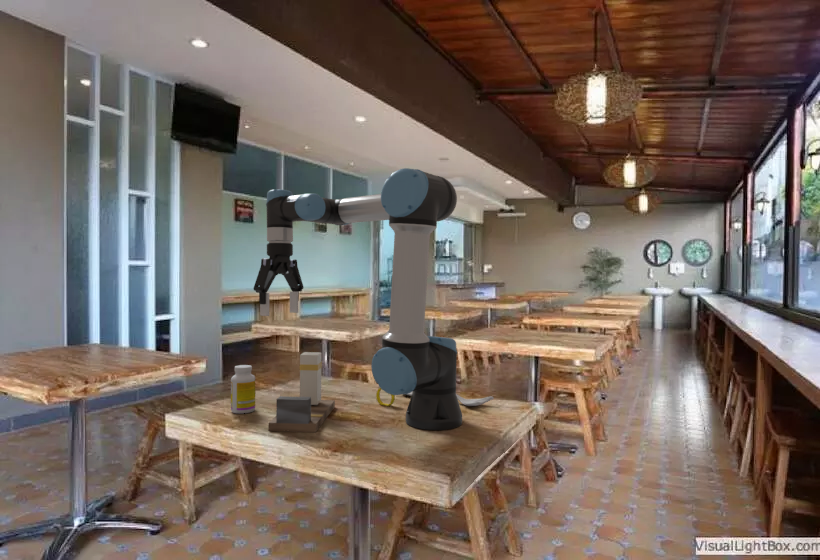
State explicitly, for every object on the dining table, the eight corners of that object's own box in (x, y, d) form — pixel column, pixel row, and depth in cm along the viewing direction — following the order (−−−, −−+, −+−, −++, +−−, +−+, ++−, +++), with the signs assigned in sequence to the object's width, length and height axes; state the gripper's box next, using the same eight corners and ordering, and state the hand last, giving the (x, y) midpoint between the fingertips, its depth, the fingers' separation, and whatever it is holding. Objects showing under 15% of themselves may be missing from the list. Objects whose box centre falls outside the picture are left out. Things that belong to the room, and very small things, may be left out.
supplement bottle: (260, 410, 149) (260, 365, 149) (241, 415, 144) (241, 369, 143) (244, 407, 153) (244, 363, 152) (225, 412, 147) (225, 366, 147)
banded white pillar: (303, 399, 152) (304, 352, 151) (321, 400, 151) (321, 352, 151) (299, 404, 146) (299, 354, 146) (317, 404, 146) (317, 355, 146)
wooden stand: (294, 406, 154) (294, 379, 154) (334, 407, 154) (334, 380, 154) (268, 430, 130) (268, 399, 130) (315, 432, 130) (316, 400, 130)
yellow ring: (395, 406, 156) (397, 387, 156) (390, 408, 154) (391, 388, 154) (379, 402, 160) (380, 383, 159) (374, 404, 157) (375, 384, 157)
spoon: (479, 413, 150) (479, 401, 150) (393, 395, 169) (393, 385, 169) (494, 406, 157) (494, 395, 157) (409, 391, 177) (410, 380, 176)
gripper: (295, 245, 168) (295, 311, 168) (240, 240, 145) (240, 316, 145) (314, 244, 165) (314, 311, 165) (261, 239, 142) (261, 317, 142)
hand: (279, 314), depth 155 cm, fingers open, 13 cm apart
